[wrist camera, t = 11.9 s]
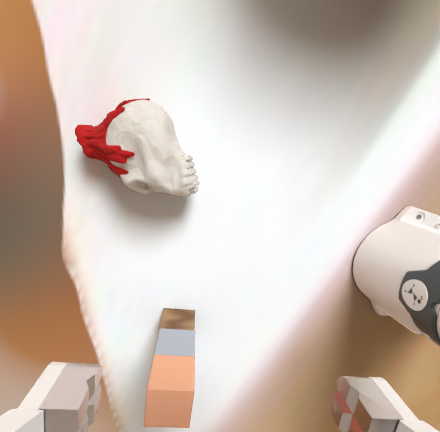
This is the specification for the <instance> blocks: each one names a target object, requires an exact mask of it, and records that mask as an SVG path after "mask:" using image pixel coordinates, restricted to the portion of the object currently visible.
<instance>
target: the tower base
mask: <svg viewBox="0 0 440 432" xmlns="http://www.w3.org/2000/svg"><path fill="white" fill-rule="evenodd" d="M160 328H163V329H178V330H193V331H194V328H195V310H183V309H168V308H164V309H163V313H162V318H161V323H160V327H159V330H160Z"/></svg>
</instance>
